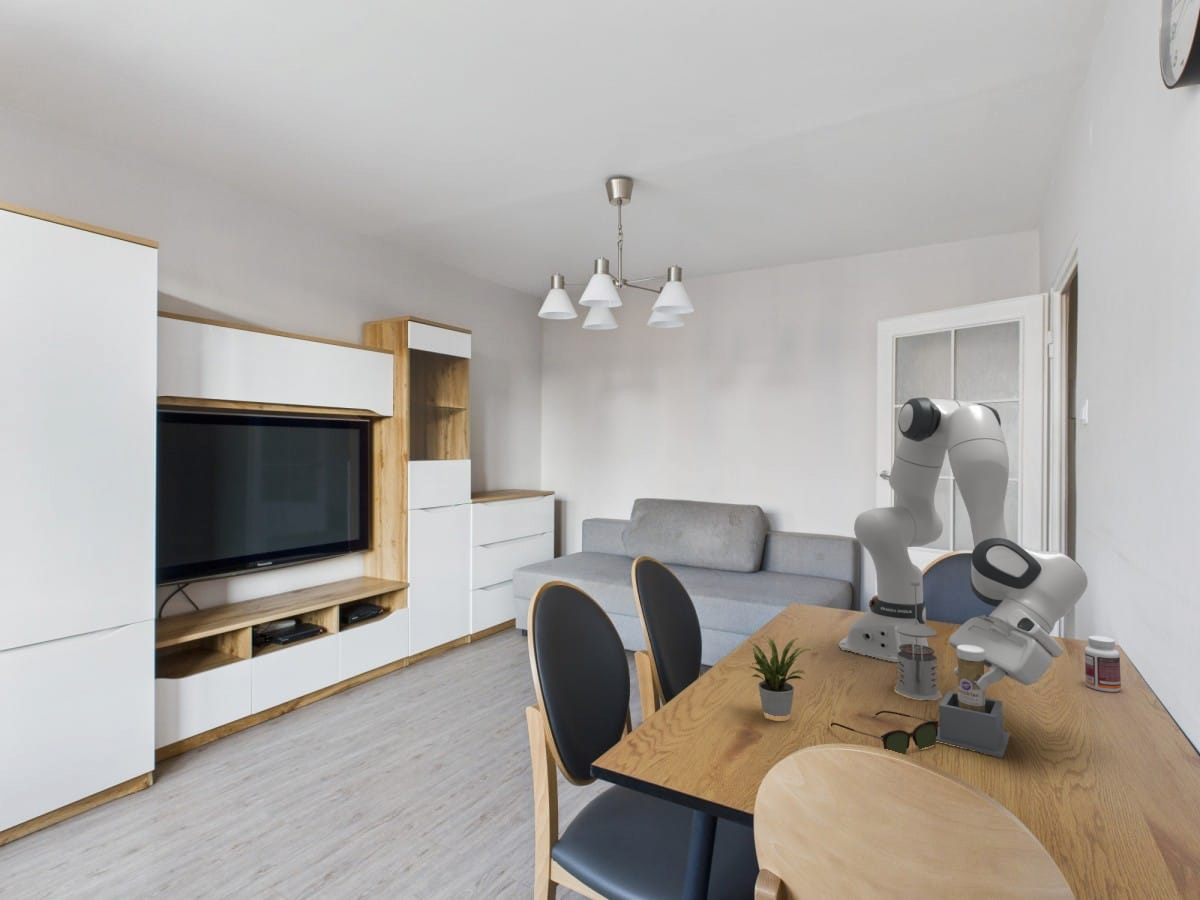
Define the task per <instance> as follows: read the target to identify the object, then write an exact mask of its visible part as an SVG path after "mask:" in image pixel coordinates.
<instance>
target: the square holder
mask: <svg viewBox="0 0 1200 900" xmlns="http://www.w3.org/2000/svg"><path fill="white" fill-rule="evenodd" d="M942 698H943V699H942V700H941V702H940V703H939V704H938V713H939V714H938V715H939V717H938V718H939V721H938V722H939V726H938V728H937V729H938V734H937V737H936V741H939V742H943V743H947V744H951V745H955V746H959V747H963V748H967V749H971V750H975V751H978V752H982V753H986V754H989V755H988V756H990V755H994V756H997V757H996V758H998V757H1001V758H1000V759H1004V757H1005V754H1006V751H1007V748H1008V745H1009V741H1010V739H1009V738H1011V732H1008V731H1004V707H1003V706H1004V705H1003V704H1004V702H1003V700H998V699H992V698H989V697H988V698H987V697H985V713H983V712H979V711H974V710H969V709H964V708H959V700H958V691H951V690H947V692H946V693H945V695H944V696H943V697H942ZM1006 747H1007V748H1006ZM978 752H977V753H978ZM982 753H981V754H982ZM1004 753H1005V754H1004ZM986 754H985V755H986ZM994 756H993V757H994ZM1003 756H1004V757H1003Z"/></svg>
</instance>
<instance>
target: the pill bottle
mask: <svg viewBox="0 0 1200 900" xmlns="http://www.w3.org/2000/svg"><path fill="white" fill-rule="evenodd" d="M1087 641H1088V644H1089V645H1087V646H1086V647H1085V648H1084V664H1085V665H1084V667H1085V672H1084V674H1085V685H1086V686H1087V687H1088V688H1091V689H1093V690H1096V691H1101V692H1105V693H1117V692H1120V691H1121V687H1122V684H1121V683H1122V682H1121V680H1122V679H1121V659H1120V657H1121V656H1120V652H1119V651H1118V650H1117V649H1115V647H1116V640H1115V639H1113V638H1110V637H1107V636H1100V635H1091V636H1090V635H1089V636H1088V639H1087Z"/></svg>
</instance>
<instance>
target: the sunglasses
mask: <svg viewBox="0 0 1200 900" xmlns="http://www.w3.org/2000/svg"><path fill="white" fill-rule="evenodd" d="M884 713H887V714H893V715H897V716H903V717H907V718H912V719H915V720H916V719H917V720H920V721H924V722H922V723H921V724H918V725H917V726H915V728H914V729H913V731H912V732H907V731H905V730H902V729H895V730H891V731H888V732H886V733H884V734H882V735H880V736H879V735H875V734H870V733H867V732H863V731H860V730H857V729H855V728H851V727H850V726H845V725H843V724H840V723H837V722H832V723H830V724H829V725H831V727H833V726H838V727H841V728H843V729H845V730H848V731H851V732H854V733H857V734H861V735H865V736H868V737H872V738H873V739H877V740H880V741H881V742H883V748H884V750H885V749H888V750H892V751H895V752H898V753H902V754H905V755H906V754H907V751H908V749H909V748H910V747H909V746H910V742H911V738H912V741H913V743H914V744H915V746H916V747H917V748H918V749H919V750H920V749H922V748H925V747H929V746H932V745H935V746H936V744H937V742H936V737H937V734H938V728H939V727H940V722H939V721H938V720H931V719H926V718H923V717H922V718H921V717H918V716H913V715H909V714H905V713H900V712H896V711H889V710H881V711H878V712H877V713H875V714H874V715H876V716H875V717H877V716H879V715H880V714H884Z"/></svg>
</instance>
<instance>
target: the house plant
mask: <svg viewBox="0 0 1200 900" xmlns="http://www.w3.org/2000/svg"><path fill="white" fill-rule="evenodd" d="M761 637H762V638H763V639H764V640H765V641H766V643H767V644H768V646H769V647H770V649H771V656H772V657H770V660H769V661H768V658H767V656H766V655H765V653H764V651H763V650H762V649H761V647H759V646H758V645H757V644H756V643H754V642H753V641H751V640H748V639H747V640H748V642H749V643H750V644H751V645H752V646H754V647H752V648H753V649H752V650H753V651H752V654H754V655H753V656H754V660H755V661H756V662H754V663H753V662H752V663H751V664H752V665H751V666H750V665H749V666H748V667H749V668H751V669H752V670H753V669H754V670H755V671H757V672H758V673H761V674H762V675H763V677H764V678H763V677H762V676H760V675H759V674H752V675H751V676H750V678H751V677H755V678H760V679H762V681H759V682H758V685H757V686H758V690H759V696H760V701H761V708H762V712H763V711H764V712H765V713H768V714H770V715H773V716H787V715H789V714H790V713H791V712H792V708H793V707H792V706H793V705H792V704H793V699H794V692H795V686H794V685H793V684H792V683H791V682H787V681H789V680H794V679H795V680H796V679H798V680H799V679H800V680H803V678H802V677H801V676H799V675H794V674H803V675H805V676H807V674H806V673H805V671H803V670H801V669H797V670H794V671H792V672H791V673H789V671H790V669H791V667H792V665H793V664H794V663H795V661H798V658H797V657H799V655H801V654H802V653H804V652H807V651H812V650H813V651H814V650H816V648H811V647H810V648H805V649H802V648H803V646H801V647H797V648H796V649H794V651H793V652H792V653H791V654H790V656H788V657H787V655H788V653H789V651H790V649H791V648H795V646H793V645H794V643H795V642H796V641H797V640H798V639H799V637H795V638H793V639H791V640H790V641H789V642H788V643H787V644H786V645H785V647H784V648H783V651H782V654H781V655H782V656H781V659H780V661H779V653H778V649H777V645H776V643H775V641H774V640H773V639H772V638H771V637H769V636H767V635H766V638H764V636H763V635H761ZM800 649H802V650H800ZM798 651H799V652H798ZM747 652H750V650H747ZM786 658H787V659H786ZM753 665H757V666H759V667H756V666H753ZM788 673H789V675H788ZM791 714H792V713H791ZM791 714H790V715H791Z"/></svg>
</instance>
